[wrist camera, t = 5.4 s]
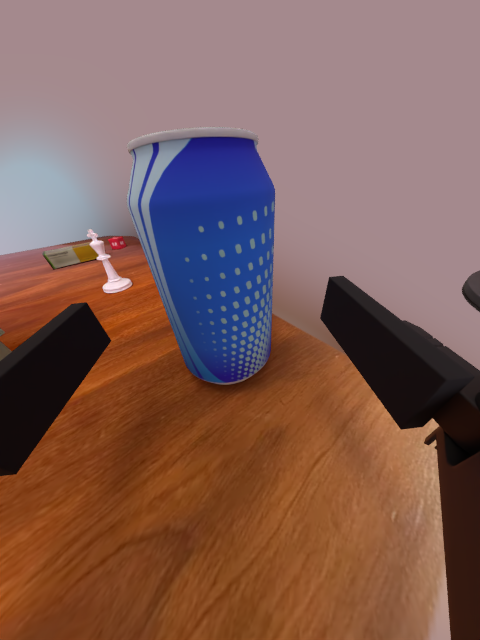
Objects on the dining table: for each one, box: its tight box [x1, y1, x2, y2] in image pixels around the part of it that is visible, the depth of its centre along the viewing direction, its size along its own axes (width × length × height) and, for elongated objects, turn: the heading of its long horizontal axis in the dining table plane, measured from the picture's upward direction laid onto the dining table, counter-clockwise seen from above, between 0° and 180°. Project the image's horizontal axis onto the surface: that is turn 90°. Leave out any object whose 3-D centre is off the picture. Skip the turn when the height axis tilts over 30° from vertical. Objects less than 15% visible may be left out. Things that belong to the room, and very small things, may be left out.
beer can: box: [127, 127, 275, 385], centre depth 15 cm, size 8×8×16 cm
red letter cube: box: [108, 237, 126, 249], centre depth 61 cm, size 3×3×3 cm
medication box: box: [42, 242, 99, 270], centre depth 50 cm, size 12×3×4 cm, turn 127°
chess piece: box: [87, 229, 132, 293], centre depth 33 cm, size 5×5×10 cm
